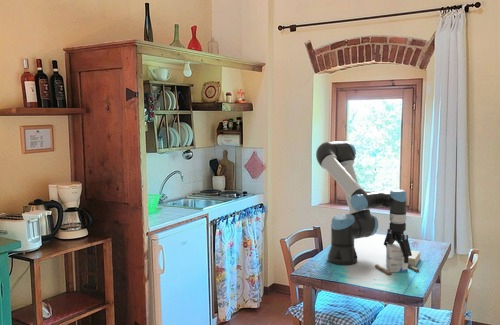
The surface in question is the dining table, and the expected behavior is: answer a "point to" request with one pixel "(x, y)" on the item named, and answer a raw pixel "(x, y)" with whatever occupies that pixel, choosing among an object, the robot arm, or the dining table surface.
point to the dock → (414, 258)
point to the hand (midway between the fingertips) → (396, 264)
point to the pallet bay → (390, 272)
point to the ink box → (394, 258)
